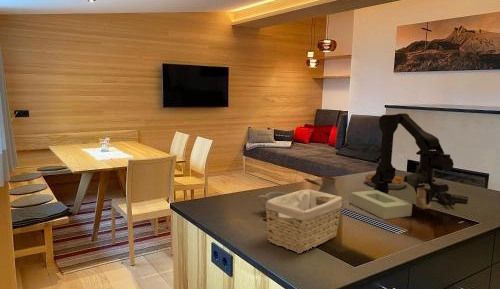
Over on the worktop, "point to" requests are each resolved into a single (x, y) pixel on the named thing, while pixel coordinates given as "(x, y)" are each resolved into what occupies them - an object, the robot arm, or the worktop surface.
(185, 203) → the worktop surface
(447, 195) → the black irregular piece
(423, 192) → the wooden block
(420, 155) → the robot arm
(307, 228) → the storage basket
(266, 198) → the teacup
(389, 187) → the pie
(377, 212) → the well box
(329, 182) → the coffee pot
